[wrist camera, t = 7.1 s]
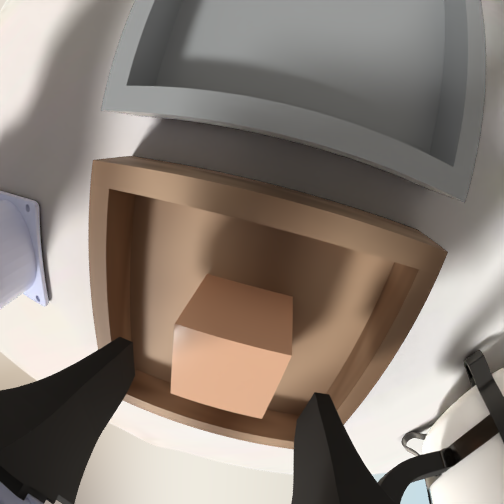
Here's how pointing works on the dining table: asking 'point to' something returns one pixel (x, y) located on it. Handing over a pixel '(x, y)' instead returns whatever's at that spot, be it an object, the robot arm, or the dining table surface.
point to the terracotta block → (232, 346)
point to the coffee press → (460, 446)
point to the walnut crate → (251, 283)
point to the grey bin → (317, 77)
